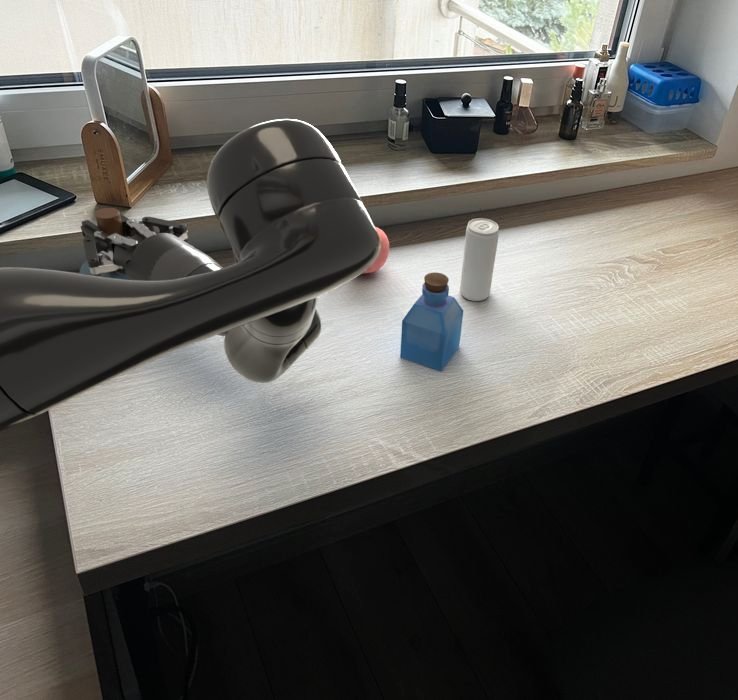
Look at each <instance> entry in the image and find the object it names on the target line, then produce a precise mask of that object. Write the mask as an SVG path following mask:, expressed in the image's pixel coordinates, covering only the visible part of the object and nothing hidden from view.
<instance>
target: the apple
mask: <svg viewBox="0 0 738 700" xmlns="http://www.w3.org/2000/svg"><path fill="white" fill-rule="evenodd" d="M375 228H376V230H377V233H378V235H379V238H380V242H381V249H380V253H379V255H378V257H377V259H376V260H375V262H374V263H373V264H372V265H371V266H370V267H369V268H368V269H367V270H366V271H364V272H363V273H362V274H372V273H374V272H377V271H378V270H380V269H381V268H382V267H383V266H384V265H385V263H386V262H387V259H388V257H389V253H390V241H389V238H388V236H387V234H386V233H385V232H384V230H382V229H381V228H380V227H377V226H375Z"/></svg>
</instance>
